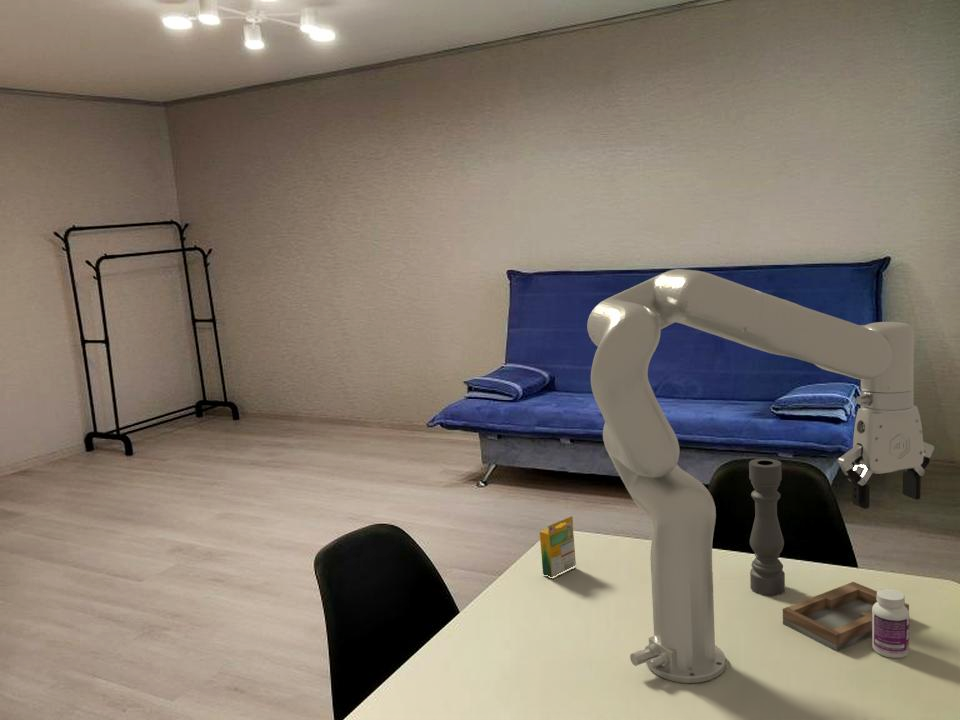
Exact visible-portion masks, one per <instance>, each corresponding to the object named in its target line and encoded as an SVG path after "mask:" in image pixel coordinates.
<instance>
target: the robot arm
mask: <svg viewBox="0 0 960 720" xmlns="http://www.w3.org/2000/svg"><path fill="white" fill-rule="evenodd" d="M674 323H677V324H680V325H681V324H682V325H685V326H687V327H690V328H693V329H696V330H699V331H702V332H705V333H708V334H711V335H714V336H717V337H720V338H723V339H725V340H729V341H732V342H735V343H737V344H740V345H743V346H746V347H749V348H752V349H755V350H759V351H762V352H766V353H768V354H771V355H772V354H773V355H777V356H783V357H788V358H793V359H797V360H799V361H804V362H807V363H810V364H813V365H815V366H816V367H818V368H820V369H821V370H824V371H827V372H831V373H835V374H838V375H839V374H840V375H842V376H846V377H849V378H853V379H856V380H860V396H856V397H855V400H856V401H855V402H856V403H857V404H858V405H860V408H858V409H857V412H856V416H855V422H854V427H853V428H854V429H853V430H854V431H853V437H852V438H853V440H852V448H851V449H849V450H848V451H847V452H846V453H844V454H843V455H841V456H840V457H838V458H837V463H838V464H839V467H840V469H841V470H842V471H841V472H842V474H843V475H844V476H845V477H846V478H847V480H848V481H849V482H851V499H852V500H851V501H852V504H853V505H856V506H857V507H860V508H862V509H864V510H867V509H869V508H870V485H869V484H867V482H868V481H869V479H870V478H871V476H872V475H873V474H877V475H878V474H879V475H881V474H887V473H894V472H900V471H903V472H902V494H903V495H904V496H906V497H908V498H911V499H914V500H916V501H917V500H920V499H921V481H922V480H921V477H922V476H924V474H925V472H926V471H925V469H926V468H927V466H928V465H929V463H930V461H931V459H930V458H931V457H932V455H933V452H934V450H935V446H934V445H932V444H930V443H928V442H926V441H924V438H923V437H924V436H923V426H922V425H923V424H922V419H921V415H920V412H919V408H918V406H917V405H914V393H915V392H914V391H915V390H914V376H915V375H914V374H915V373H914V372H915V371H914V370H915V364H914V363H915V362H914V361H915V359H914V358H915V331H914V328H913V327H912V326H911V325H910V324H908V323H905V322H902V321H901V322H900V321H880V322H879V321H876V322H871V323H868V324H860V325H859V324H856V323H853V322H851V321H848V320H846V319H845V320H844V319H841V318H839V317H836V316H833V315H830V314H827V313H823V312H820V311H818V310H815V309H812V308H809V307H806V306H803V305H800V304H797V303H795V302H792V301H789V300H787V299H783V298H780V297H778V296H774V295H772V294H768V293H765V292H763V291H760V290H756V289H754V288H751V287H748V286H745V285H743V284H740V283H738V282H735V281H733V280H729V279H727V278H723V277H720V276H718V275H715V274H712V273H710V272H706V271H701V270H696V269H695V270H694V269H693V270H692V269H681V268H676V269H669V270H667V271H665V272H662V273H660V274H658V275H655V276H653V277H651V278H649V279H647V280H645V281H643V282H641V283H639V284H636V285H634V286H632V287H629V288H628V289H625V290H623V291H621V292H618V293H616V294H614V295H612V296H610V297H608V298H606V299H604V300H602V301H600V302H599V303H598V304H597V305H596V306H595V307H594V308H593V309H592V311H591V312H590V314H589V316H588V319H587V323H586V324H587V325H586V327H587V333H588V336H589V338H590V339H591V342H592V343H593V344H594V345H595V346H596V347H597V349H596V350H595V353H594V357H593V359H592V365H591V372H590V385H591V387H590V388H591V391H592V395H593V397H594V401H595V402H596V405H597V407H598V410H599V411H600V413H601V415H602V418H603V420H604V425H603V428H602V429H603V430H602V440H603V443H604V447H605V450H606V452H607V454H608V456H609V459H610V460H611V462H612V463H613V466H614V468H615V470H616V472H617V474H618V475H619V477H620V479H621V481H622V483H623V484H624V486H625V488H626V490H627V492H628V494H629V496H630V498H631V499H632V500H633V501H634V504H635V505H636V506H637V507H638V508H639V509H640V510H641V511H642V512H643V513H644V514H645V515H646V516H647V517H648V518H649V519H650V520H651V522H652V526H653V527H652V528H653V533H652V539H651V540H652V541H651V544H650V545H651V546H650V575H651V578H650V579H651V596H652V599H651V600H652V617H653V618H652V619H653V622H652V623H653V636H651V637H648V645H646V646H645V648H644V649H641V650H638V651H635V652H633V653H630V654H629V655H630V656H629V657H630V658H629V659H630V662H631V664H632V665H633V666H635V667H638V666H640V665H642V664H645V663H646V665H647V667H648V669H650V671H651V672H653V673H654V674H655V675H657V676H658V677H661V678H664V679H666V680H669V681H673V682H676V683H683V684H684V683H685V684H694V683H704V682H708V681H710V680H713V679H716V678H717V677H718V676H720V675H721V674H722V673H723V672H724V670H725V669H726V665H727V664H726V663H727V661H726V656H725V653H724V652H723V650H722V649H721V648H720V647H718V646H717V645H716V642H715V641H716V639H715V638H716V637H715V610H714V609H715V608H714V607H715V604H714V602H715V601H714V576H713V575H714V573H713V539H714V533H715V526H716V521H717V520H716V519H717V513H716V512H717V511H716V505H715V501H714V498H713V496H712V494H711V493H710V491H709V489H707V487H706V486H705V485H704V483H702V482H701V481H700V480H698V479H697V478H695V477H694V476H693V475H691V474H690V473H689V472H687V471H686V470H683V468H681V467H680V466H679V465H678V462H679V458H680V454H681V453H680V444H679V440H678V437H677V435H676V433H675V431H674V429H673V428H672V426H671V424H670V422H669V421H668V419H667V417H666V415H665V413H664V411H663V410H662V407H661V405H660V404H659V401H658V400H657V397H656V395H655V393H654V391H653V388H652V386H651V384H650V381H649V376H648V373H649V365H650V362H651V360H652V357H653V355H654V353H655V352H656V349H657V347H658V345H659V343H660V340H661V339H660V338H661V330H663V329H664V328H666V327H668V326H670V325H673V324H674ZM853 463H854V467H853V465H852V464H853ZM860 474H861V475H860Z"/></svg>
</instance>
